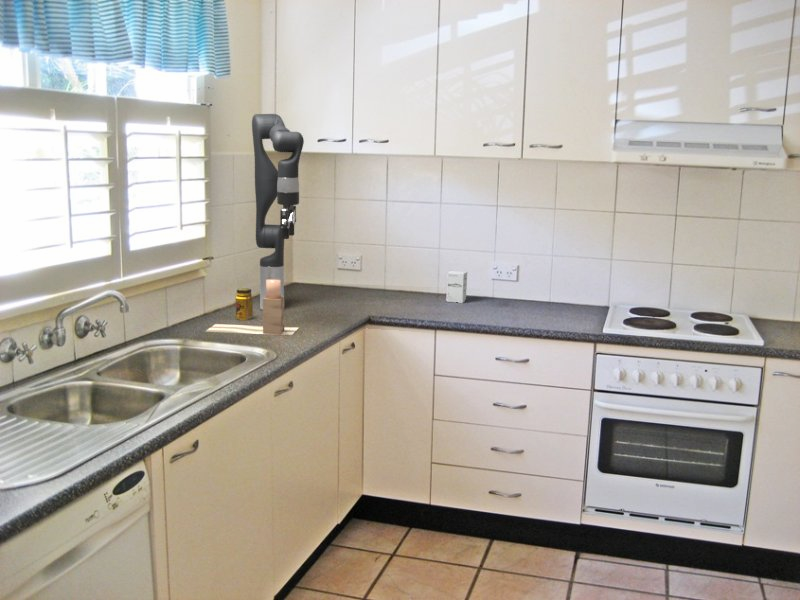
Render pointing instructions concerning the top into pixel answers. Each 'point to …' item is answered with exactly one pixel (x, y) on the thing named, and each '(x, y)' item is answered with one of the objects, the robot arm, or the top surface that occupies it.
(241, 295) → the condiment
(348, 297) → the top surface
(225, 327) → the birch board
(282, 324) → the walnut block bottom
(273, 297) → the terracotta capsule
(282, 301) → the walnut block top
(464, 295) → the supplement box
